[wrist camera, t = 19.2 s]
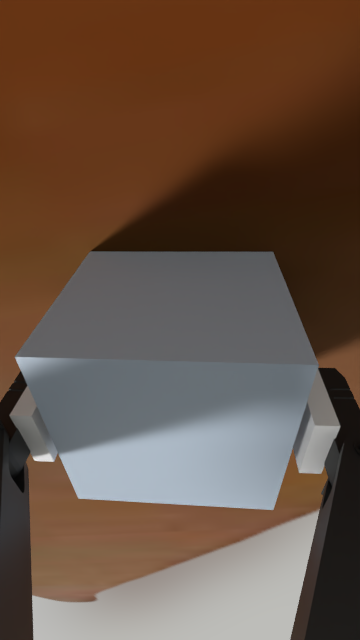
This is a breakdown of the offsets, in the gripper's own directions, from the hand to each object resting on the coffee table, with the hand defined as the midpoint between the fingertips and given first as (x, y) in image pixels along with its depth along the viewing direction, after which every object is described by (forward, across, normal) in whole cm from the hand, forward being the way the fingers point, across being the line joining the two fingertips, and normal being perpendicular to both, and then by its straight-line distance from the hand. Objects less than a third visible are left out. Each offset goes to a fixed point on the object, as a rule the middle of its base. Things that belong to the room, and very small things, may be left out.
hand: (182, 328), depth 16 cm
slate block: (0, 0, 0) cm, 0 cm away
